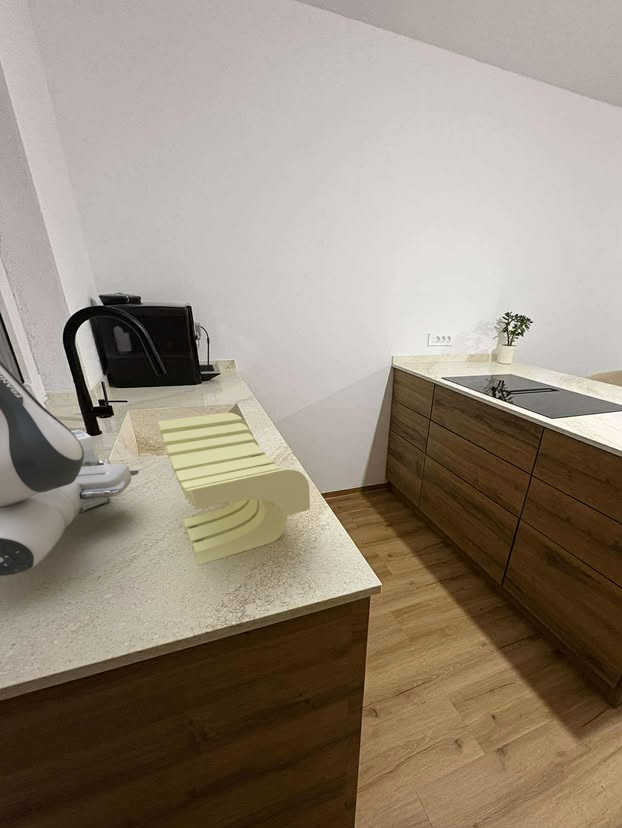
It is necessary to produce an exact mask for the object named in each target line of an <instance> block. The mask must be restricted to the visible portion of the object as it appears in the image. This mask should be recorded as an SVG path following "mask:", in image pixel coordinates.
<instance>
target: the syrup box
mask: <svg viewBox="0 0 622 828" xmlns="http://www.w3.org/2000/svg"><path fill="white" fill-rule="evenodd" d="M70 431H71V432H72V433H73V434H74V435H75V436H76V438H77V439H78V440H79V442H80V443H81V445H82V448H83V450H84V460H83V464H82V466H97V465H98V462H100V459H99V456H98V452H97V449H96V445H95V442H94V438H93V436H91V435H90V434H88V433H87V432H85V431H83V430H80V429H75V430H70ZM110 502H111V498H105V499H93V500H84V503H83V506H82V507H81V509H80V510H79V512H78V513H83V512H85V511H88V510H91V509H94V508H97V507H99V506H102V505H104V504H107V503H110Z"/></svg>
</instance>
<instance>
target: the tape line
mask: <svg viewBox="0 0 622 828" xmlns="http://www.w3.org/2000/svg"><path fill="white" fill-rule="evenodd" d="M138 472H139V470H138V469H136V470H130V474H132V475H137V474H138Z"/></svg>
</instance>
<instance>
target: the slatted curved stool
mask: <svg viewBox="0 0 622 828" xmlns="http://www.w3.org/2000/svg"><path fill="white" fill-rule="evenodd" d="M157 423H158V428H159V432H160V437H161V439H162V440H163V441H162V442H163V445H164V448H165V449H166V454H167V457H168V459H169V461H170V466H171V469H172V471H173V473H174V475H175V478H176V480H177V482H178V484H179V486H180V488H181V491H182V493H183V495H184V497H185V500H187V501H188V503H191V506H192V507H194V509H195V510H199V509H204V508H208V507H214V506H219V505H223V504H228V505H227V506H224V507H222V508H218V509H216V510H212V511H209V512H206V513H203V514H199V515H195V516H191V517H188V518H183V519H182V524H183V528H184V530H185V533H186V535H187V537H188V540H189V543H190V545H191V548H192V550H193V553H194V556H195V558H196V561H197V563H198V566H201V565H203V564H208V563H211V562H214V561H217V560H220V559H223V558H226V557H230V556H233V555H236V554H240V553H242V552H246V551H250V550H253V549H255V548H259V547H262V546H265V545H269V544H273V543H274V542H276V541H277V540H278V539H279V538H280V537H281V536H282V535H283V534H284V532H285V529H286V526H287V522H288V516H292V515H295V514H299V513H303V512H306V511H310V509H311V506H310V505H311V504H310V503H311V501H310V484H309V480H308V478H307V477H306V476H305V475H304V474H303V473H302V472H301V471H300V470H299V469H298V468H289V469H287V468H286V467H284V468H281V467H280V466H279V465H278V464H277V463H275V461H274V460H273V459H272V458H271V457H270V456H269V455H268V454H266V453H265V451H264V450H263V449H261V447H260V445H259V442H258V441H257V440H256V438H255V436H254V434H253V432H252V431H251V429H250V428H249V425H248V423H247V422H246V421H245V419H243V418H242V417H241V416H240V415H238V414H236V413H234V412H222V413H212V414H205V415H197V416H190V417H182V418H174V419H166V420H158V421H157ZM230 503H231V504H230Z"/></svg>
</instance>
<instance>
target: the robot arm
mask: <svg viewBox="0 0 622 828" xmlns="http://www.w3.org/2000/svg"><path fill="white" fill-rule="evenodd" d="M71 431H72V430H71V429H69V428H68V426H66V425H65V424H64V423H63V422H61V420H59V419H58V418H57V417H56V416H55V415H53V414H52V413H51V412H50V411H49V410H47V408H46V407H44V406H43V404H42V403H40V402H39V400H38V399H37V398H36V397H35V396H34V395H33V394H32V393H31V392H30V390H29V389H28V388H27V387H26V386H25V385H24V384H23V383H22V382H21V381H20V379H18V377H17V376H15V374H14V373H13V372H12V371H11V370H10V369H9V368H8V367H7V366H6V365H5V363H4V362H3V361H2V360H1V359H0V577H4V576H5V577H6V576H14V575H17V574H21V573H25V572H26V571H27V572H28V571H29V570H31V569H33V568H35V567H36V566H37V565H38V564H40V563H41V562H42V561H43V560H44V559H45V558H46V557H47V556H48V555H49V554H50V553H51V551H52V550H53V549H54V548H55V546H56V545H57V544H58V542H60V540H61V538H62V536H63V535H64V533H65V529H66V528H68V527H69V526H70V525H71V523H72V522H73V520H74V519H75V518H76V516H77V515H78V513H80V512H79V510H80V509H81V507H82V506H83V503H84V500H93V499H105V498H110V499H111V498H115V497H118V496H119V495H121V494H122V493H123V492H125V490H126V489H127V488H128V487H129V485H131V483H132V475H131V474H130V471H131V469H130V468H129V466H128V465H127V464H125V463H114V464H113V463H112V464H111V461H110V459H99V462H98V465H97V466H82V464H83V460H84V450H83V448H82V445H81V443H80V442H79V440H78V439H77V438H76V436H75V435H74V434H73V433H72V432H71Z"/></svg>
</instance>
